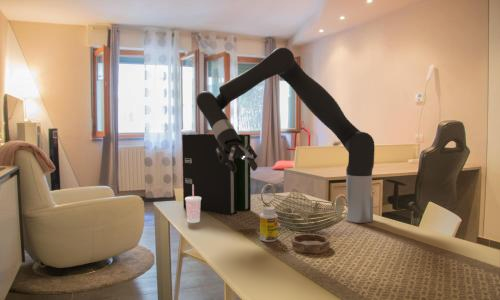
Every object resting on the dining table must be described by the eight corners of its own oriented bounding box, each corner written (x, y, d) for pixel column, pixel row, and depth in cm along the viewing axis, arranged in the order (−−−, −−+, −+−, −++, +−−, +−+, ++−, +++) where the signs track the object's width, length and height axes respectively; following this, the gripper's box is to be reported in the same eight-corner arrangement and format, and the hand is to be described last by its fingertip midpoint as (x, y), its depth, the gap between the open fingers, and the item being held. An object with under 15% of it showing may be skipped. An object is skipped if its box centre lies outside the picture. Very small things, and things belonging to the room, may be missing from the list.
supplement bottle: (266, 243, 118) (266, 210, 118) (256, 239, 123) (256, 207, 122) (281, 240, 122) (281, 208, 121) (270, 236, 126) (270, 205, 125)
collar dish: (325, 242, 119) (325, 233, 119) (331, 254, 108) (331, 244, 108) (290, 242, 119) (290, 233, 119) (293, 254, 109) (293, 244, 109)
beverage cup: (197, 218, 150) (196, 182, 150) (204, 221, 145) (204, 184, 144) (182, 220, 147) (182, 184, 146) (189, 224, 142) (188, 186, 141)
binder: (251, 210, 165) (251, 134, 163) (228, 216, 153) (227, 135, 151) (206, 202, 182) (205, 133, 180) (182, 207, 170) (180, 134, 168)
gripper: (213, 127, 132) (232, 164, 123) (246, 127, 140) (267, 161, 132) (205, 142, 136) (223, 179, 128) (237, 141, 145) (257, 175, 137)
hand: (245, 170), depth 130 cm, fingers open, 8 cm apart
